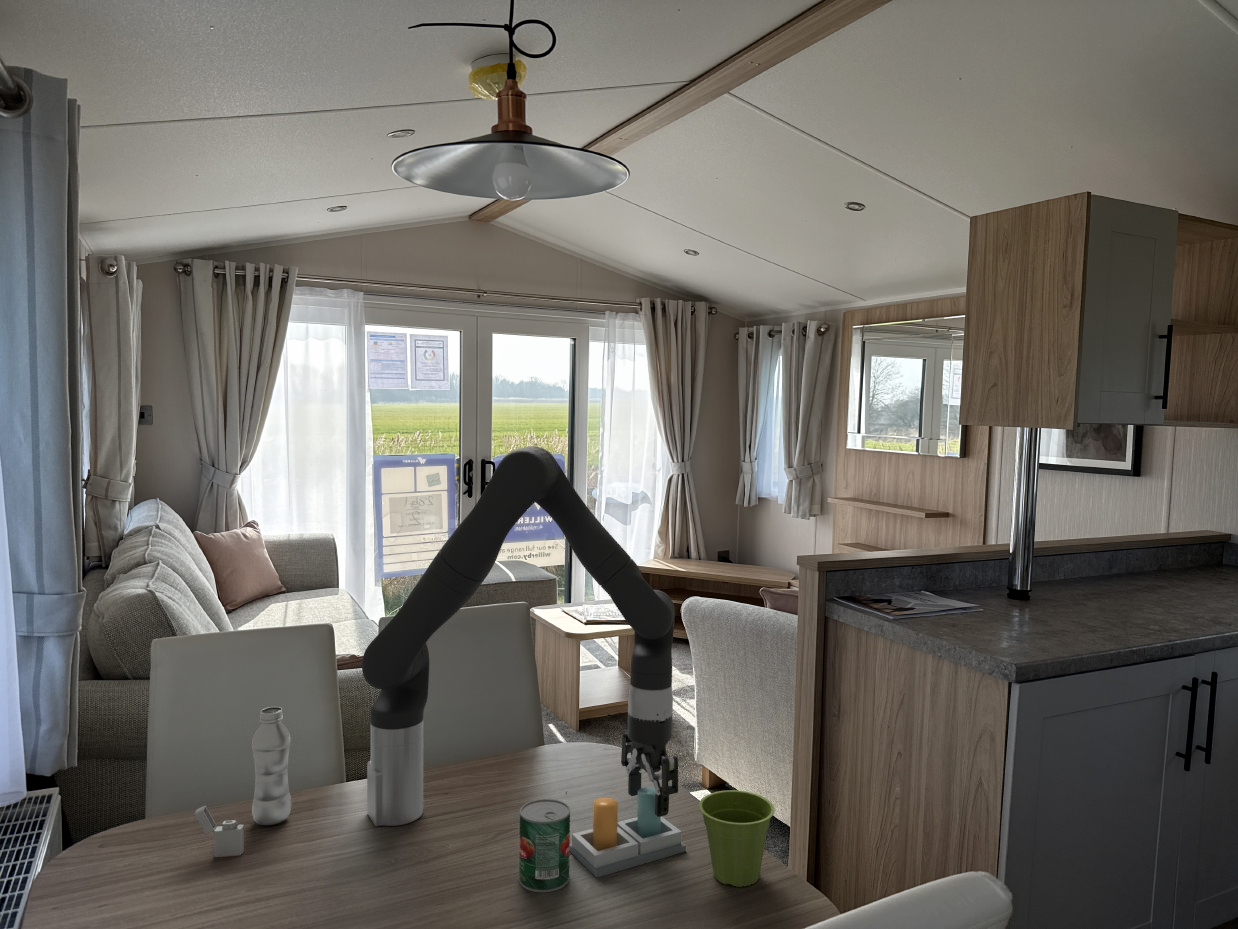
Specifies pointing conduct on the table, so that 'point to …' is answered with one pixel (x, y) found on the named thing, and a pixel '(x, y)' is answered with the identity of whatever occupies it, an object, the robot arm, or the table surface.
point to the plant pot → (736, 834)
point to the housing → (626, 848)
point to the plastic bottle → (271, 768)
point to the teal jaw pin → (647, 813)
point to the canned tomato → (544, 845)
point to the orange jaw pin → (605, 823)
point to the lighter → (222, 834)
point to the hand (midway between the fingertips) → (647, 804)
